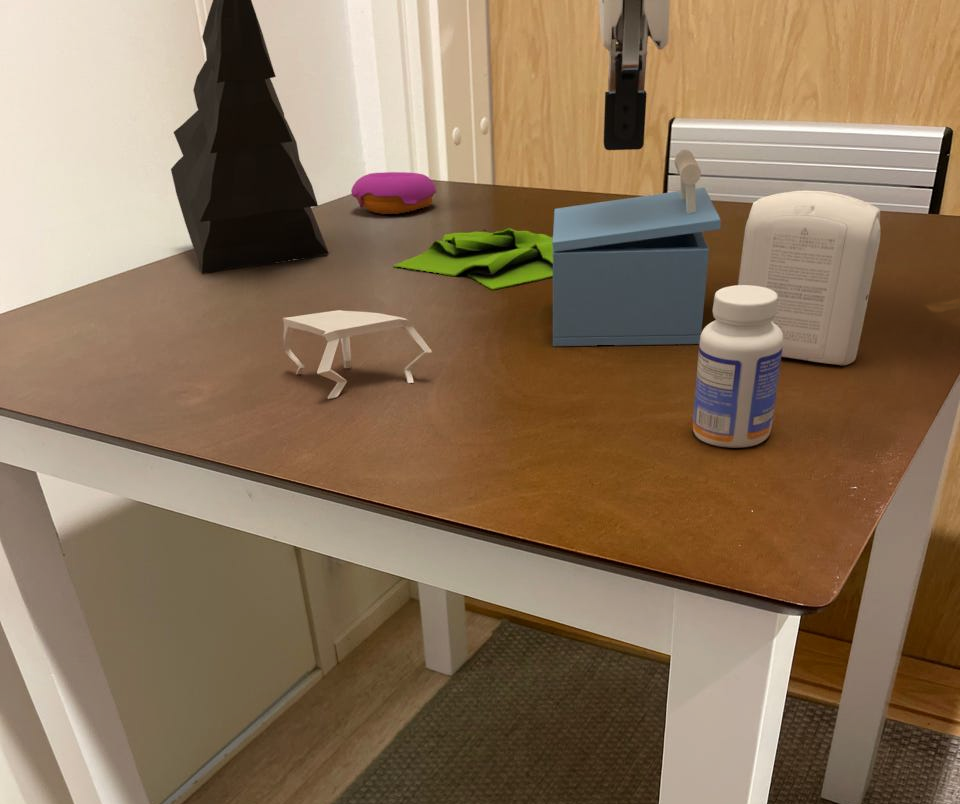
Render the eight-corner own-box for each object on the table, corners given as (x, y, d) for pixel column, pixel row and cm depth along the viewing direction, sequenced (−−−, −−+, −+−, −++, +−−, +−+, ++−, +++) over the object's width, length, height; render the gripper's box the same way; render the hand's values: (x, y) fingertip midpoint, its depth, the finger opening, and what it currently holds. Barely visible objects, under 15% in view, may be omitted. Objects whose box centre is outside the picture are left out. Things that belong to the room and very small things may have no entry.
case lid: (705, 196, 86) (704, 140, 84) (720, 229, 77) (720, 167, 74) (555, 217, 88) (550, 163, 86) (553, 252, 79) (547, 192, 76)
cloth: (629, 267, 102) (630, 243, 100) (433, 300, 96) (431, 274, 94) (547, 226, 117) (547, 204, 116) (374, 251, 111) (372, 229, 110)
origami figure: (284, 407, 76) (273, 345, 73) (287, 368, 82) (277, 310, 79) (436, 393, 76) (432, 331, 74) (428, 356, 83) (423, 298, 80)
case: (687, 301, 92) (694, 214, 87) (700, 344, 83) (709, 249, 78) (554, 304, 93) (554, 218, 88) (552, 346, 84) (552, 253, 79)
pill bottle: (758, 416, 70) (777, 278, 65) (779, 448, 66) (801, 304, 60) (684, 420, 70) (695, 283, 65) (700, 452, 66) (714, 308, 60)
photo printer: (862, 353, 79) (893, 190, 72) (850, 371, 76) (882, 203, 69) (739, 337, 84) (757, 182, 76) (723, 353, 81) (740, 193, 73)
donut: (449, 206, 128) (447, 168, 126) (395, 222, 122) (392, 183, 119) (394, 197, 134) (391, 161, 131) (340, 213, 128) (335, 175, 125)
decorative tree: (203, 298, 111) (163, 10, 78) (173, 197, 115) (123, -116, 82) (328, 279, 115) (339, -3, 82) (295, 182, 119) (293, -123, 86)
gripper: (700, -148, 62) (677, 165, 73) (680, -137, 74) (662, 131, 85) (583, -142, 63) (577, 167, 74) (582, -131, 75) (577, 133, 86)
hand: (623, 147), depth 79 cm, fingers closed
